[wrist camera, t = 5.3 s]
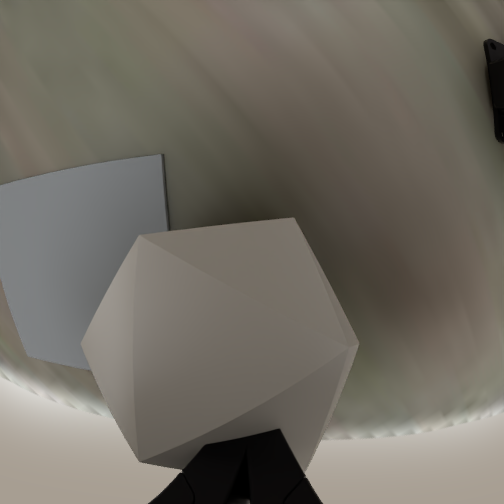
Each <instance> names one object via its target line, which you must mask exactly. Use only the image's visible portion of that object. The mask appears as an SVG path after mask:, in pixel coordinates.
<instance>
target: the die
mask: <svg viewBox="0 0 504 504" xmlns="http://www.w3.org/2000/svg"><path fill="white" fill-rule="evenodd" d="M359 344H360V343H359V341H358V339H357V337H356V335H355V333H354V331H353V329H352V327H351V325H350V323H349V321H348V319H347V317H346V315H345V313H344V311H343V309H342V307H341V305H340V303H339V301H338V299H337V297H336V295H335V293H334V291H333V289H332V287H331V285H330V283H329V281H328V280H327V278H326V276H325V274H324V272H323V270H322V268H321V266H320V264H319V262H318V261H317V259H316V257H315V255H314V253H313V251H312V249H311V248H310V246H309V244H308V242H307V240H306V238H305V237H304V235H303V233H302V231H301V229H300V227H299V226H298V224H297V222H296V220H295V218H284V219H273V220H264V221H254V222H244V223H235V224H226V225H217V226H208V227H200V228H191V229H183V230H175V231H167V232H159V233H151V234H143V235H139V236H138V238H137V239H136V241H135V243H134V244H133V246H132V248H131V249H130V251H129V253H128V254H127V256H126V258H125V260H124V261H123V263H122V265H121V267H120V268H119V270H118V272H117V274H116V276H115V277H114V279H113V281H112V283H111V285H110V286H109V288H108V290H107V292H106V294H105V296H104V298H103V300H102V301H101V303H100V305H99V307H98V309H97V311H96V313H95V315H94V317H93V319H92V321H91V323H90V325H89V327H88V329H87V331H86V333H85V335H84V337H83V340H82V342H81V346H82V349H83V352H84V354H85V357H86V359H87V361H88V364H89V366H90V369H91V371H92V373H93V375H94V378H95V380H96V382H97V384H98V387H99V389H100V391H101V393H102V395H103V397H104V399H105V401H106V403H107V405H108V407H109V409H110V411H111V413H112V415H113V417H114V419H115V421H116V423H117V424H118V426H119V428H120V430H121V432H122V433H123V435H124V437H125V439H126V440H127V442H128V444H129V446H130V447H131V449H132V451H133V452H134V454H135V456H136V457H137V459H138V461H139V462H142V463H147V464H152V465H157V466H163V467H169V468H174V469H181V470H183V469H184V468H185V467H186V465H187V464H188V463H189V462H190V461H191V460H192V459H193V457H194V456H195V455H196V454H197V453H198V452H199V450H200V449H201V448H202V447H203V446H204V445H205V444H210V443H216V442H221V441H226V440H231V439H236V438H241V437H246V436H250V435H255V434H259V433H263V432H267V431H271V430H275V429H281V431H282V433H283V435H284V437H285V438H286V440H287V442H288V444H289V446H290V448H291V450H292V452H293V453H294V455H295V457H296V459H297V461H298V463H299V464H300V466H301V468H302V470H303V472H304V473H305V471H306V470H307V467H308V466H309V464H310V462H311V460H312V458H313V456H314V454H315V451H316V449H317V447H318V445H319V443H320V441H321V439H322V437H323V435H324V432H325V430H326V428H327V426H328V423H329V421H330V419H331V417H332V414H333V412H334V410H335V407H336V405H337V402H338V400H339V397H340V395H341V393H342V390H343V387H344V385H345V382H346V380H347V377H348V374H349V372H350V369H351V366H352V364H353V361H354V358H355V355H356V352H357V349H358V347H359Z"/></svg>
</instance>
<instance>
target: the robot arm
mask: <svg viewBox="0 0 504 504" xmlns="http://www.w3.org/2000/svg"><path fill="white" fill-rule="evenodd" d="M490 45H491V46H490ZM491 47H492V48H491ZM484 49H485V54H486V59H487V65H488V71H489V77H490V84H491V92H492V101H493V111H494V126H495V137H496V139H497V141H498V142H500V143H502V144H504V45H503V44H501V43H499V42H497V41H495V40H492V39H487V40H485V41H484ZM502 133H503V137H502ZM148 504H323V503H322V502H321V500H320V499H319V497H318V496H317V494H316V492H315V491H314V489H313V488H312V486H311V484H310V482H309V481H308V479H307V478H306V475H305V474H304V472H303V470H302V468H301V466H300V464H299V463H298V461H297V459H296V457H295V455H294V453H293V452H292V450H291V448H290V446H289V444H288V442H287V440H286V438H285V437H284V435H283V433H282V431H281V429H275V430H271V431H267V432H263V433H259V434H255V435H250V436H246V437H241V438H236V439H231V440H226V441H221V442H216V443H210V444H205V445H204V446H203V447H202V448H201V449H200V450H199V452H198V453H197V454H196V455H195V456H194V457H193V459H192V460H191V461H190V462H189V463H188V464H187V465H186V467H185V468H184V469H183V470H182V473H179V474H178V475H177V477H176V478H175V479H174V480H173V481H172V482H171V483H170V484H169V485H168V486H167V487H166V488H165V489H164V490H163V491H162V492H161V493H160V494H159V495H158V496H157V497H156V498H154V499H153V500H152V501H151V502H149V503H148Z"/></svg>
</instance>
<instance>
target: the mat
mask: <svg viewBox="0 0 504 504" xmlns="http://www.w3.org/2000/svg"><path fill="white" fill-rule="evenodd" d="M167 231H170V230H169V220H168V210H167V198H166V186H165V172H164V156H163V154H159V155H151V156H143V157H135V158H128V159H122V160H115V161H109V162H103V163H97V164H91V165H86V166H80V167H75V168H70V169H65V170H60V171H56V172H51V173H47V174H42V175H38V176H34V177H30V178H26V179H22V180H18V181H14V182H10V183H7V184H3V185H0V278H1V282H2V285H3V289H4V292H5V295H6V299H7V302H8V305H9V308H10V311H11V314H12V317H13V320H14V323H15V325H16V328H17V331H18V333H19V336H20V338H21V341H22V343H23V346H24V348H25V351H26V353H27V355H28V356H29V357H33V358H36V359H40V360H44V361H49V362H53V363H57V364H61V365H66V366H71V367H76V368H81V369H86V370H91V369H90V366H89V364H88V361H87V359H86V357H85V354H84V352H83V349H82V346H81V342H82V340H83V337H84V335H85V333H86V331H87V329H88V327H89V325H90V323H91V321H92V319H93V317H94V315H95V313H96V311H97V309H98V307H99V305H100V303H101V301H102V300H103V298H104V296H105V294H106V292H107V290H108V288H109V286H110V285H111V283H112V281H113V279H114V277H115V276H116V274H117V272H118V270H119V268H120V267H121V265H122V263H123V261H124V260H125V258H126V256H127V254H128V253H129V251H130V249H131V248H132V246H133V244H134V243H135V241H136V239H137V238H138V236H139V235H143V234H151V233H159V232H167Z"/></svg>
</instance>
